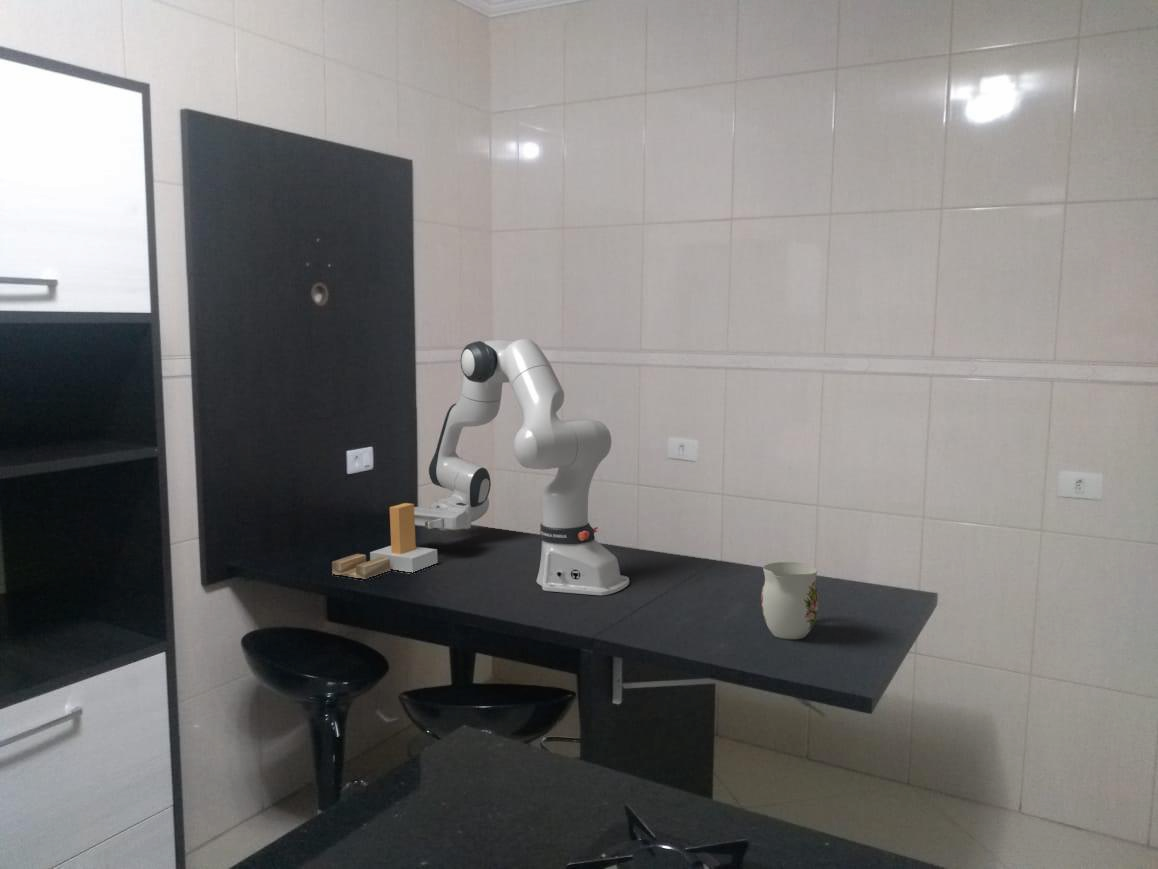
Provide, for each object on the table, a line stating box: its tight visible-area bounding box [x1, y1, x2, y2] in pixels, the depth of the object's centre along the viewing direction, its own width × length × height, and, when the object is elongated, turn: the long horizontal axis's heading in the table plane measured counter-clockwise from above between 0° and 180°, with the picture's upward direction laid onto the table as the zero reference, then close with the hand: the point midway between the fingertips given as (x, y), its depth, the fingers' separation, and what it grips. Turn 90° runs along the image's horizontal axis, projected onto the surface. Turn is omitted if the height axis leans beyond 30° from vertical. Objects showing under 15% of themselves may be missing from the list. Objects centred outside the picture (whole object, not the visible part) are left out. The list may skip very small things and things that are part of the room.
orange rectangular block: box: [389, 502, 417, 554], centre depth 227 cm, size 3×6×12 cm, turn 151°
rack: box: [331, 553, 391, 579], centre depth 221 cm, size 11×9×4 cm
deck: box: [369, 545, 439, 573], centre depth 228 cm, size 14×10×4 cm
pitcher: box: [760, 561, 820, 640], centre depth 173 cm, size 11×18×14 cm, turn 152°
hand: (412, 523), depth 230 cm, fingers open, 8 cm apart
